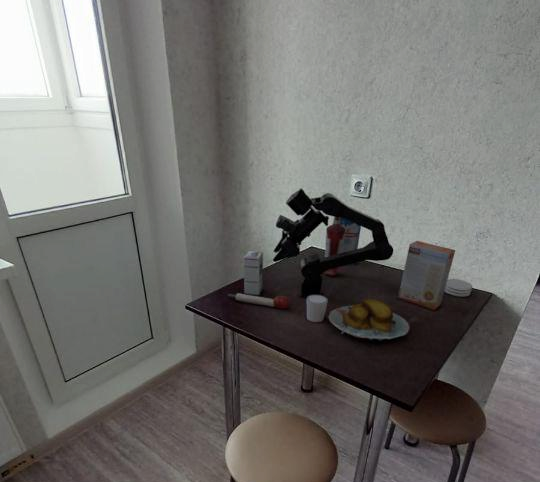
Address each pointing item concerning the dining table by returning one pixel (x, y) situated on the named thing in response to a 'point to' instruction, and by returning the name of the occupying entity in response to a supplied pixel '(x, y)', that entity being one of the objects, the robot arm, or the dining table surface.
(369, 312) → the food on plate
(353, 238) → the milk carton
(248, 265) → the syrup box
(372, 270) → the dining table surface
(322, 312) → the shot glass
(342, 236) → the liquor
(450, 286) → the coaster
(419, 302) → the cracker box
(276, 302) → the baster
